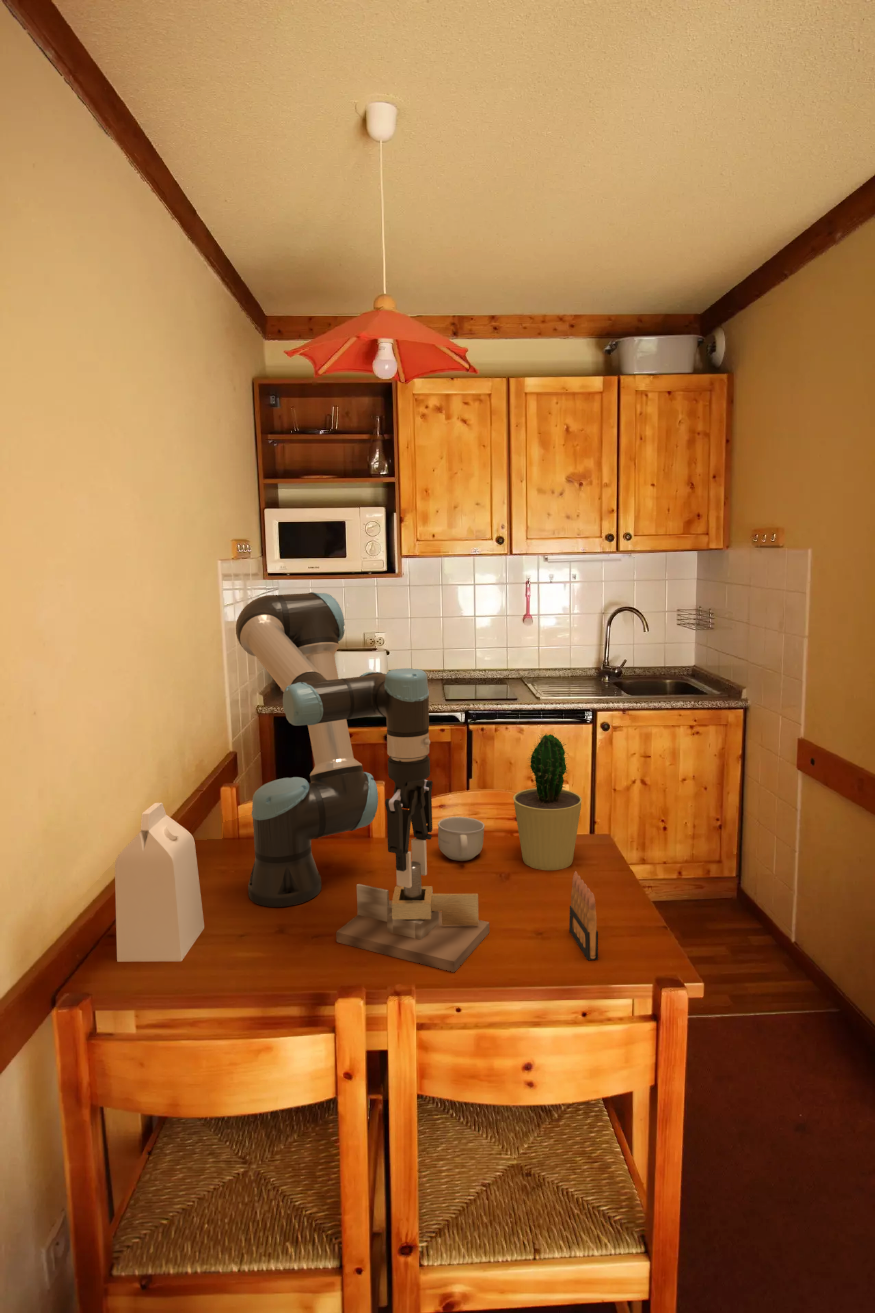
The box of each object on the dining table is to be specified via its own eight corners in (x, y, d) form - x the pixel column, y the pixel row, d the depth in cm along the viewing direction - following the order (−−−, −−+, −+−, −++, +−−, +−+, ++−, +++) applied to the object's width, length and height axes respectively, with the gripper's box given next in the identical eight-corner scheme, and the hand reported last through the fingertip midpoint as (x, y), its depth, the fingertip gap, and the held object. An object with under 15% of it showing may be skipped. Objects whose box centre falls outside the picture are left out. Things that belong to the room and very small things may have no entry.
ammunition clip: (598, 960, 130) (599, 894, 129) (588, 961, 130) (588, 895, 129) (578, 930, 141) (579, 868, 139) (569, 930, 141) (569, 869, 139)
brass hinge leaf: (392, 934, 136) (391, 903, 135) (396, 915, 143) (395, 886, 142) (478, 933, 135) (478, 903, 134) (478, 915, 142) (477, 886, 141)
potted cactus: (526, 843, 183) (525, 722, 179) (588, 853, 176) (589, 727, 172) (503, 867, 169) (502, 737, 165) (571, 879, 163) (571, 743, 159)
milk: (145, 928, 145) (134, 797, 142) (204, 927, 145) (195, 797, 141) (117, 961, 133) (105, 820, 130) (181, 961, 133) (171, 819, 129)
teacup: (441, 846, 182) (441, 814, 181) (486, 847, 181) (486, 815, 180) (433, 870, 169) (432, 836, 168) (481, 872, 167) (481, 837, 166)
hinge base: (336, 942, 138) (334, 900, 137) (379, 907, 152) (378, 869, 150) (454, 972, 127) (453, 928, 126) (489, 932, 141) (488, 891, 140)
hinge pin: (402, 928, 139) (399, 867, 137) (410, 920, 142) (408, 860, 140) (417, 932, 137) (415, 870, 135) (425, 924, 140) (423, 863, 138)
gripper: (401, 771, 125) (405, 904, 128) (449, 745, 141) (452, 864, 144) (363, 766, 128) (368, 896, 132) (414, 742, 144) (417, 858, 148)
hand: (412, 879), depth 138 cm, fingers open, 5 cm apart
